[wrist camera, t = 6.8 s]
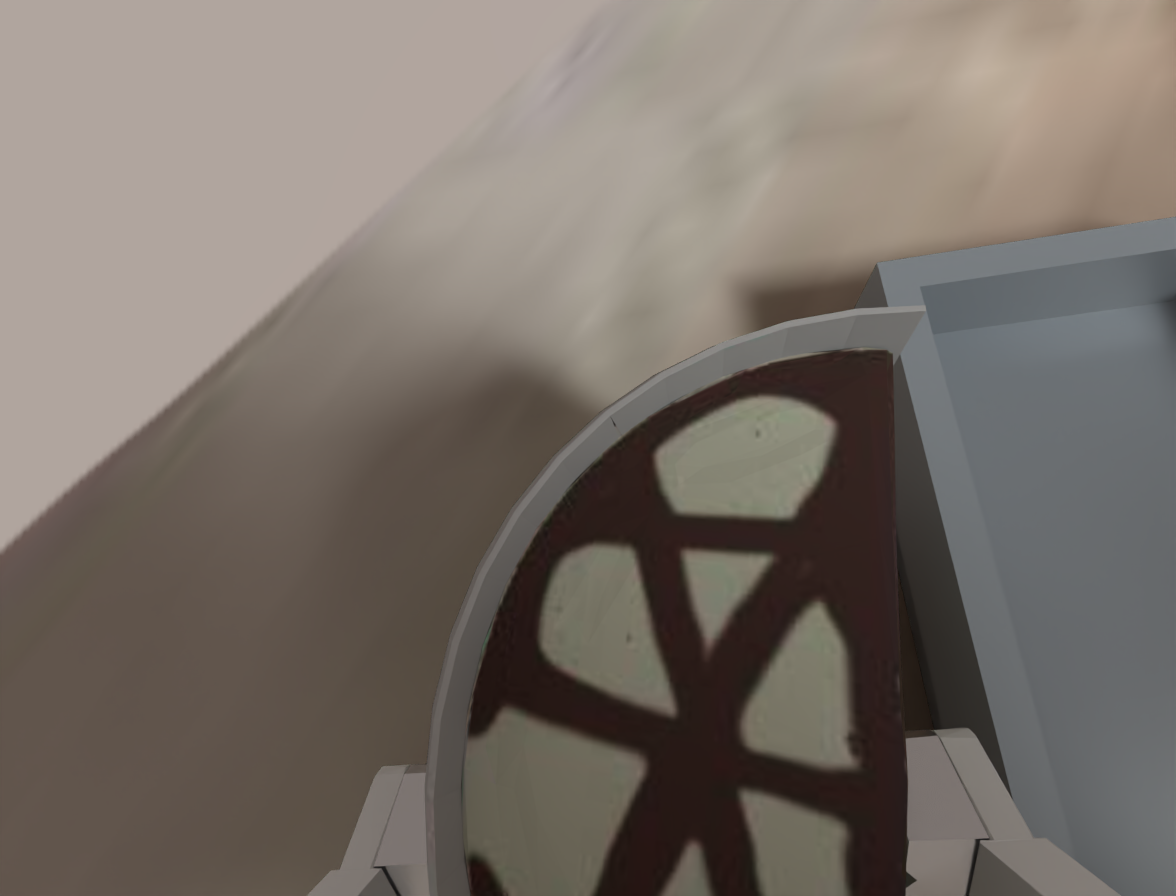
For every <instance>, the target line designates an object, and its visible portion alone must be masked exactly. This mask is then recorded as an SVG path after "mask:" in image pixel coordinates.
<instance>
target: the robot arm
mask: <svg viewBox="0 0 1176 896" xmlns="http://www.w3.org/2000/svg"><path fill="white" fill-rule="evenodd" d="M905 736H906V753H907V770H908V810H907V856H906V896H1121V895H1120V894H1118V893H1117V892H1116V891H1114V890H1113V889H1112V888H1110V887H1109V886H1108V885H1107V884H1105V883H1104V882H1103V881H1101V880H1100V879H1099V878H1097V877H1096V876H1095V875H1094V874H1092V873H1091V872H1090V871H1088V870H1087V869H1086V868H1084V867H1083V866H1082V865H1081V864H1079V863H1078V862H1077V861H1075V860H1074V859H1073V858H1071V857H1070V856H1069V855H1068V854H1066V853H1065V852H1064V851H1062V850H1061V849H1060V848H1058V847H1057V846H1056V845H1055V844H1053V843H1052V842H1051V841H1049V840H1048V839H1047V838H1034V837H1033V835H1032V833H1031V831H1030V830H1029V828H1028V826H1027V824H1026V823H1025V821H1024V819H1023V817H1022V816H1021V814H1020V812H1019V810H1018V809H1017V807H1016V805H1015V803H1014V802H1013V800H1012V798H1011V796H1010V795H1009V793H1008V791H1007V789H1006V788H1005V786H1004V784H1003V782H1002V781H1001V779H1000V777H999V775H998V773H997V772H996V770H995V768H994V766H993V765H992V763H991V761H990V759H989V758H988V756H987V754H986V752H985V751H984V749H983V747H982V745H981V744H980V742H979V740H978V738H977V737H976V735H975V734H974V733H973V732H972V731H971V730H970V729H969V728H964V727H963V728H952V729H941V730H930V729H925V730H913V731H905ZM426 766H427V764H415V765H413V764H409V765H394V766H382V767H381V769H380V770H379V771H378V773H377V774H376V775H375V777H374V779H373V782H372V784H371V787H370V790H369V792H368V795H367V798H366V800H365V803H364V806H363V808H362V811H361V813H360V816H359V819H358V821H357V824H356V827H355V829H354V832H353V835H352V837H351V840H350V843H349V845H348V848H347V851H346V853H345V856H344V859H343V861H342V864H341V867H340V869H339V870H330V871H329V873H328V874H327V875H326V876H325V877H324V878H323V879H322V880H321V881H320V882H319V883H318V884H317V885H316V886H315V887H314V888H313V889H312V891H311V892H310V893H309V894H308V895H307V896H430V893H429V878H428V872H427V848H426V818H425V788H424V785H425V775H426Z"/></svg>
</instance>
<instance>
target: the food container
mask: <svg viewBox="0 0 1176 896" xmlns="http://www.w3.org/2000/svg"><path fill="white" fill-rule="evenodd" d="M925 312H926V305H920V306H900V307H879V308H859V309H852V310H847V311H841V312H835V313H830V314H824V315H818V316H813V317H807V318H801V319H796V320H790V321H786V322H783V323H780V324H777V325H774V326H771V327H768V328H765V329H762V330H758V331H755V332H752V333H749V334H746V335H743V336H740V337H737V338H734V339H731V340H728V341H725V342H722V343H720V344H718V345H715V346H712V347H710V348H708V349H706V350H704V351H702V352H700V353H698V354H696V355H694V356H692V357H690V358H688V359H686V360H684V361H682V362H680V363H678V364H676V365H674V366H671V367H669V368H667V369H665V370H663V371H661V372H659V373H657V374H655V375H653V376H652V377H650V378H649V379H648V380H646V381H645V382H643V383H642V384H640V385H639V386H637V387H636V388H634V389H633V390H631V391H630V392H629V393H627V394H626V395H624V396H623V397H621V398H620V399H618V400H617V401H615V402H614V403H613V404H611V405H610V406H608V407H607V408H605V409H604V410H602V411H601V412H600V413H599V414H598V415H596V416H595V417H594V418H593V419H592V420H591V421H590V422H589V423H588V424H587V425H586V426H585V427H584V428H583V429H581V430H580V431H579V432H578V433H577V434H576V435H575V436H574V437H573V438H572V439H571V440H570V441H569V442H567V443H566V444H565V445H564V446H563V447H562V448H561V449H560V450H559V451H558V452H557V453H556V454H555V455H553V457H552V458H551V459H550V460H549V462H548V463H547V464H546V465H545V467H544V468H543V469H542V470H541V472H540V473H539V474H538V475H537V477H536V478H535V479H534V480H533V482H532V483H531V484H530V485H529V487H528V488H527V489H526V490H525V492H524V493H523V494H522V495H521V497H520V498H519V499H518V500H517V502H516V503H515V504H514V505H513V507H512V508H511V510H510V511H509V513H508V515H507V516H506V518H505V520H504V522H503V523H502V525H501V527H500V529H499V530H498V532H497V534H496V535H495V537H494V539H493V541H492V542H491V544H490V546H489V547H488V549H487V551H486V553H485V554H484V556H483V558H482V560H481V561H480V563H479V565H478V566H477V568H476V571H475V573H474V576H473V578H472V581H471V583H470V586H469V588H468V591H467V593H466V596H465V598H464V601H463V603H462V606H461V608H460V611H459V613H458V616H457V618H456V621H455V623H454V626H453V628H452V631H451V633H450V637H449V641H448V645H447V649H446V654H445V658H444V662H443V666H442V670H441V674H440V678H439V682H438V686H437V690H436V694H435V699H434V703H433V707H432V717H431V726H430V736H429V746H428V756H427V766H426V775H425V785H424V788H425V818H426V848H427V872H428V878H429V893H430V896H906V856H907V810H908V770H907V753H906V736H905V718H904V701H903V685H902V669H901V651H900V625H899V600H898V575H897V544H896V484H895V426H894V379H893V365H894V364H895V362H896V360H897V359H898V357H899V355H900V354H901V352H902V350H903V349H904V347H905V345H906V344H907V342H908V340H909V339H910V337H911V335H912V334H913V332H914V330H915V329H916V327H917V325H918V323H919V322H920V320H921V318H922V317H923V315H924V313H925Z"/></svg>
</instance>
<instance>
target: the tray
mask: <svg viewBox="0 0 1176 896" xmlns="http://www.w3.org/2000/svg"><path fill="white" fill-rule="evenodd" d="M920 305H926V312H925V313H924V315H923V317H922V318H921V320H920V322H919V323H918V325H917V327H916V329H915V330H914V332H913V334H912V335H911V337H910V339H909V340H908V342H907V344H906V345H905V347H904V349H903V350H902V352H901V354H900V355H899V357H898V359H897V360H896V362H895V364H894V365H893V379H894V426H895V484H896V544H897V568H898V572H899V576H900V581H901V585H902V590H903V594H904V598H905V603H906V607H907V612H908V616H909V621H910V625H911V629H912V634H913V638H914V643H915V647H916V651H917V656H918V660H919V665H920V669H921V674H922V678H923V682H924V687H925V691H926V696H927V700H928V704H929V709H930V713H931V718H932V722H933V727H934V730H941V729H952V728H963V727H964V728H969V729H970V730H971V731H972V732H973V733H974V734H975V735H976V737H977V738H978V740H979V742H980V744H981V745H982V747H983V749H984V751H985V752H986V754H987V756H988V758H989V759H990V761H991V763H992V765H993V766H994V768H995V770H996V772H997V773H998V775H999V777H1000V779H1001V781H1002V782H1003V784H1004V786H1005V788H1006V789H1007V791H1008V793H1009V795H1010V796H1011V798H1012V800H1013V802H1014V803H1015V805H1016V807H1017V809H1018V810H1019V812H1020V814H1021V816H1022V817H1023V819H1024V821H1025V823H1026V824H1027V826H1028V828H1029V830H1030V831H1031V833H1032V835H1033V837H1034V838H1047V839H1048V840H1049V841H1051V842H1052V843H1053V844H1055V845H1056V846H1057V847H1058V848H1060V849H1061V850H1062V851H1064V852H1065V853H1066V854H1068V855H1069V856H1070V857H1071V858H1073V859H1074V860H1075V861H1077V862H1078V863H1079V864H1081V865H1082V866H1083V867H1084V868H1086V869H1087V870H1088V871H1090V872H1091V873H1092V874H1094V875H1095V876H1096V877H1097V878H1099V879H1100V880H1101V881H1103V882H1104V883H1105V884H1107V885H1108V886H1109V887H1110V888H1112V889H1113V890H1114V891H1116V892H1117V893H1118V894H1120V895H1121V896H1176V217H1171V218H1165V219H1158V220H1152V221H1145V222H1139V223H1132V224H1126V225H1119V226H1113V227H1106V228H1100V229H1093V230H1087V231H1080V232H1074V233H1067V234H1061V235H1054V236H1048V237H1041V238H1035V239H1028V240H1022V241H1015V242H1009V243H1002V244H996V245H989V246H983V247H976V248H970V249H963V250H957V251H950V252H944V253H937V254H931V255H924V256H918V257H911V258H905V259H898V260H891V261H885V262H878V263H877V264H876V266H875V268H874V270H873V272H872V274H871V276H870V278H869V280H868V282H867V284H866V286H865V288H864V290H863V292H862V294H861V296H860V298H859V300H858V302H857V304H856V306H855V308H854V309H859V308H879V307H900V306H920Z"/></svg>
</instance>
